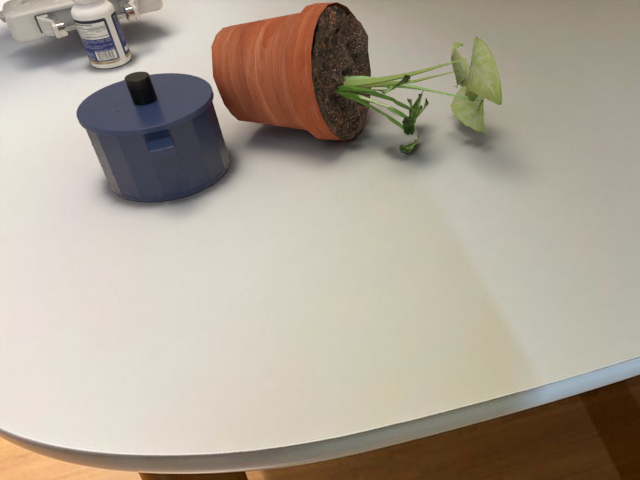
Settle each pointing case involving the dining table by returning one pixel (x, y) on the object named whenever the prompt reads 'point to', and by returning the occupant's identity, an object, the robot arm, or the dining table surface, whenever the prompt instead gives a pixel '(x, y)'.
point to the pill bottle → (100, 33)
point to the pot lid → (145, 104)
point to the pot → (164, 160)
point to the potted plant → (331, 75)
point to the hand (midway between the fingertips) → (97, 22)
